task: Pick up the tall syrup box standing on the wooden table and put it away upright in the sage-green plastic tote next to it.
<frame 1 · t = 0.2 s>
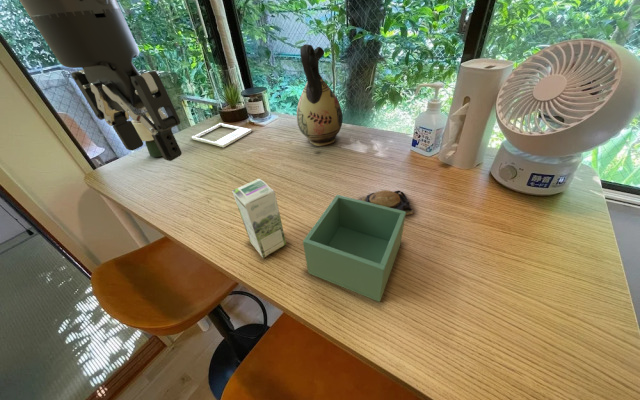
hand: (154, 152, 36), 25 cm above the table, tool pointing down, fingers open, 8 cm apart
tote: (356, 258, 49), on the table
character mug: (160, 155, 92), on the table
syrup box: (269, 245, 54), on the table
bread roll: (386, 207, 60), on the table
ceramic jug: (320, 141, 90), on the table
photo frame: (222, 135, 101), on the table
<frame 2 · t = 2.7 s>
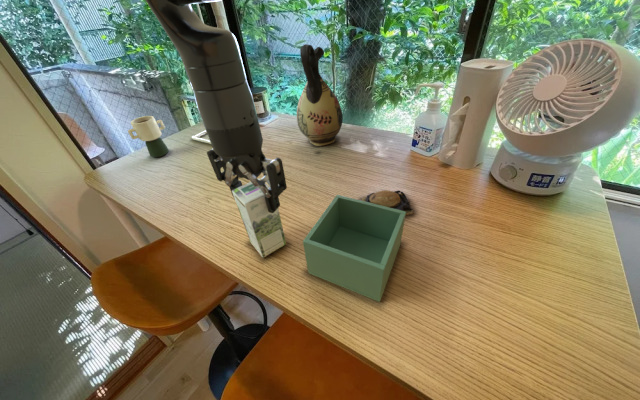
hand: (257, 204, 47), 11 cm above the table, tool pointing down, fingers closed on syrup box, 7 cm apart
syrup box: (269, 244, 54), on the table, touching gripper
everything else where it was.
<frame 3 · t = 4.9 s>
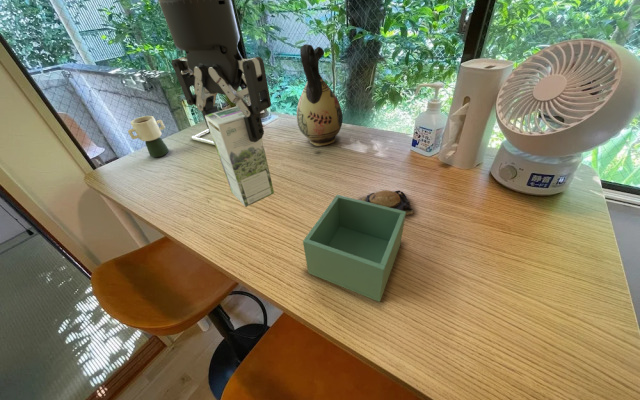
hand: (236, 136, 38), 25 cm above the table, tool pointing down, fingers closed on syrup box, 7 cm apart
syrup box: (253, 195, 45), point 13 cm above the table, touching gripper
everything else where it was.
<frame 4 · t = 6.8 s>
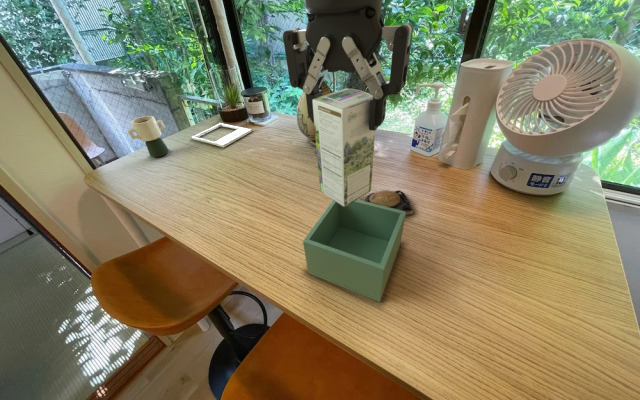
hand: (344, 124, 33), 27 cm above the table, tool pointing down, fingers closed on syrup box, 7 cm apart
syrup box: (345, 193, 40), point 16 cm above the table, touching gripper
everything else where it was.
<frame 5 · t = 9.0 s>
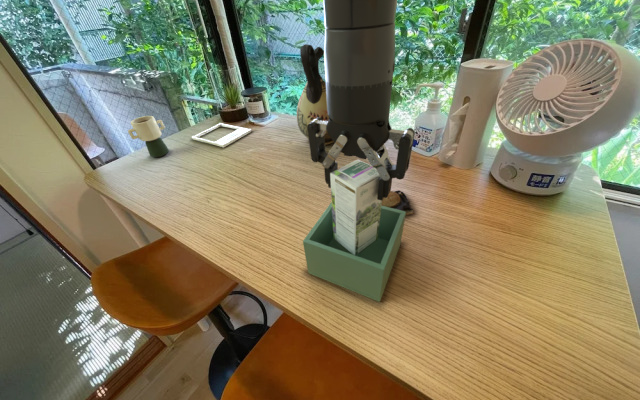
hand: (356, 191, 39), 16 cm above the table, tool pointing down, fingers closed on syrup box, 7 cm apart
syrup box: (355, 240, 46), point 5 cm above the table, touching gripper
everything else where it was.
when the fingers open (12 cm above the table, at t = 10.8 s): syrup box stays where it is, resting on tote.
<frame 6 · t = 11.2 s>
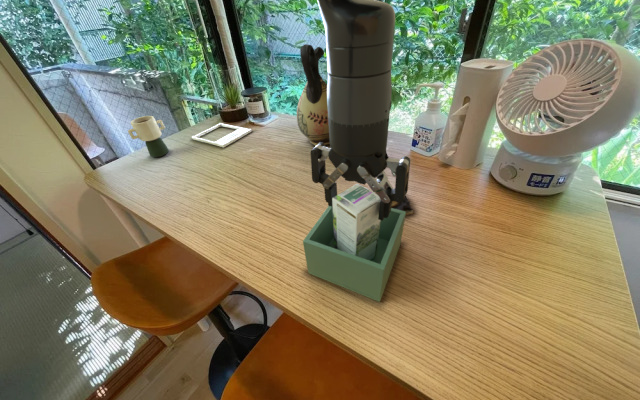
hand: (356, 209, 41), 12 cm above the table, tool pointing down, fingers open, 8 cm apart
syrup box: (355, 256, 48), point 1 cm above the table, touching tote
everything else where it was.
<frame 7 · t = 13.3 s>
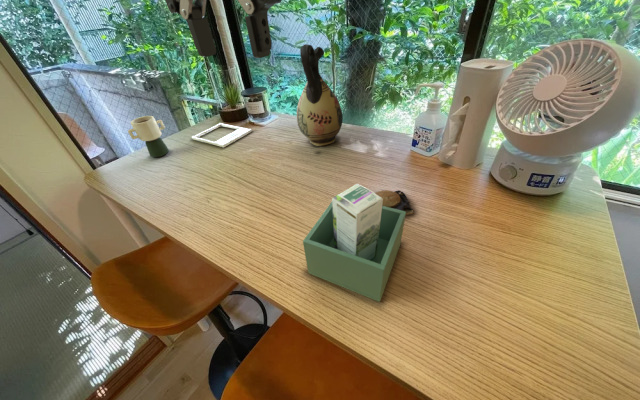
hand: (234, 56, 30), 35 cm above the table, tool pointing down, fingers open, 8 cm apart
nothing on the table moved.
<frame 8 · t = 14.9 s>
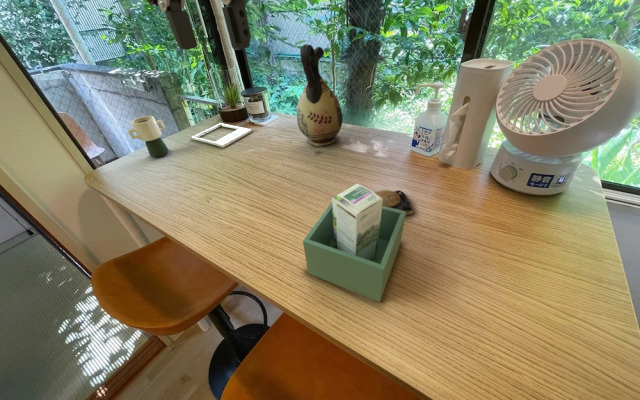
hand: (214, 48, 30), 36 cm above the table, tool pointing down, fingers open, 8 cm apart
nothing on the table moved.
at the end: syrup box inside the target area in the tote (0.1 cm from its centre), point 0.6 cm above the tote's base; syrup box tilted 0°; the gripper is holding nothing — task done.
